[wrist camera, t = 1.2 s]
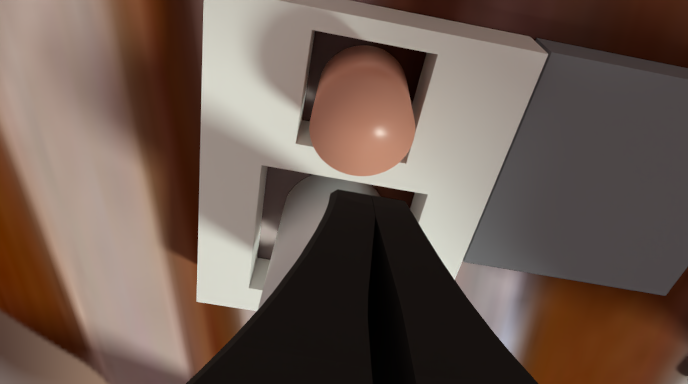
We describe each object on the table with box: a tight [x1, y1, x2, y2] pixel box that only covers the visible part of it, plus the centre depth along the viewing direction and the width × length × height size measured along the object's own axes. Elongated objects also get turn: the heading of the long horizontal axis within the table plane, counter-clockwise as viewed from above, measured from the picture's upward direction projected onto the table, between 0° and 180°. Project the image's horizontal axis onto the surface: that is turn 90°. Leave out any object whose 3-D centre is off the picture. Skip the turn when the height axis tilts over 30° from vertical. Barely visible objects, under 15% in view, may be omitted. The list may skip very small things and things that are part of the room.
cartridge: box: [258, 175, 380, 309], centre depth 16 cm, size 4×4×7 cm
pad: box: [463, 38, 688, 296], centre depth 17 cm, size 8×8×2 cm
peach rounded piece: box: [309, 45, 415, 176], centre depth 14 cm, size 3×3×3 cm
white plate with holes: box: [197, 0, 548, 311], centre depth 17 cm, size 10×12×2 cm
